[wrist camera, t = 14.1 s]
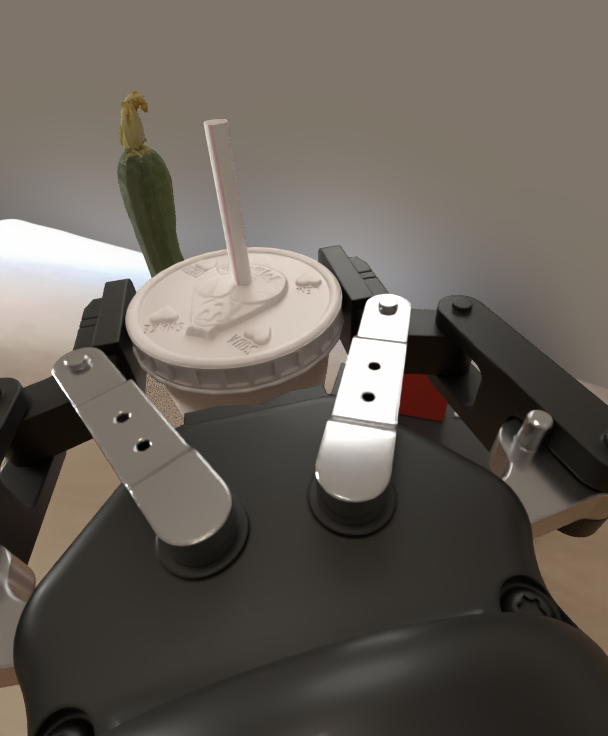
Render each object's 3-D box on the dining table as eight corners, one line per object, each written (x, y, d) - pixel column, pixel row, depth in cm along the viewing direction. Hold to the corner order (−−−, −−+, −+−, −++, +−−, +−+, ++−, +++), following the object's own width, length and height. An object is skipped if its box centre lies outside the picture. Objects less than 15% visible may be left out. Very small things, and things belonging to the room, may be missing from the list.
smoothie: (357, 442, 20) (377, 100, 10) (312, 573, 16) (279, 189, 6) (238, 411, 22) (165, 97, 12) (168, 521, 17) (-27, 163, 8)
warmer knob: (444, 403, 29) (459, 346, 26) (443, 422, 28) (458, 365, 24) (387, 393, 30) (394, 337, 27) (383, 411, 29) (390, 355, 25)
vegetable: (158, 323, 43) (76, 99, 30) (170, 299, 47) (101, 88, 33) (199, 323, 43) (135, 96, 29) (209, 299, 46) (155, 85, 33)
